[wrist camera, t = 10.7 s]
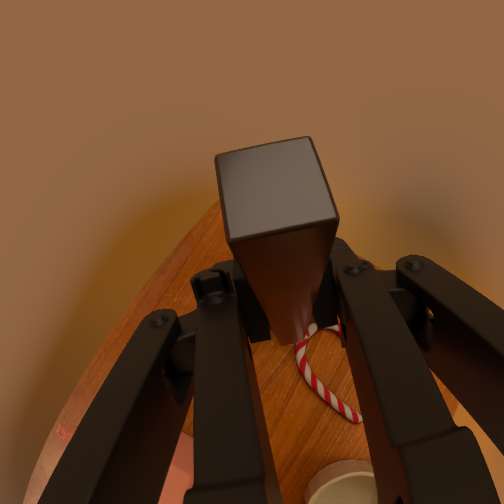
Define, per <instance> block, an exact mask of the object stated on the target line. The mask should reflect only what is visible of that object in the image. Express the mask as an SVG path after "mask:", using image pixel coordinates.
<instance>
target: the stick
mask: <svg viewBox="0 0 504 504" xmlns="http://www.w3.org/2000/svg"><path fill="white" fill-rule="evenodd" d="M214 162H215V169H216V176H217V183H218V190H219V196H220V203H221V210H222V217H223V223H224V230H225V236H226V242H227V244H228V246H229V248H230V250H231V252H232V254H233V255H234V257H235V259H236V261H237V263H238V265H239V267H240V269H241V271H242V273H243V275H244V277H245V279H246V281H247V283H248V284H249V286H250V288H251V290H252V292H253V294H254V296H255V298H256V300H257V302H258V304H259V305H260V307H261V309H262V311H263V313H264V315H265V316H266V318H267V320H268V322H269V324H270V326H271V328H272V330H273V332H274V334H275V336H276V338H277V340H278V341H279V343H280V345H281V346H284V345H288V344H293V343H298V342H303V341H304V339H305V336H306V333H307V330H308V327H309V324H310V321H311V317H312V314H313V311H314V308H315V305H316V302H317V298H318V295H319V292H320V288H321V285H322V282H323V278H324V275H325V272H326V268H327V265H328V261H329V258H330V254H331V251H332V247H333V243H334V240H335V236H336V232H337V228H338V225H339V220H340V217H339V213H338V210H337V207H336V204H335V201H334V198H333V196H332V193H331V190H330V187H329V184H328V181H327V178H326V175H325V173H324V170H323V167H322V165H321V162H320V159H319V156H318V154H317V151H316V148H315V146H314V143H313V141H312V139H311V137H309V136H304V137H299V138H293V139H287V140H282V141H277V142H272V143H267V144H262V145H257V146H252V147H248V148H243V149H238V150H234V151H229V152H225V153H221V154H218V155H216V156H215V159H214Z"/></svg>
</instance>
